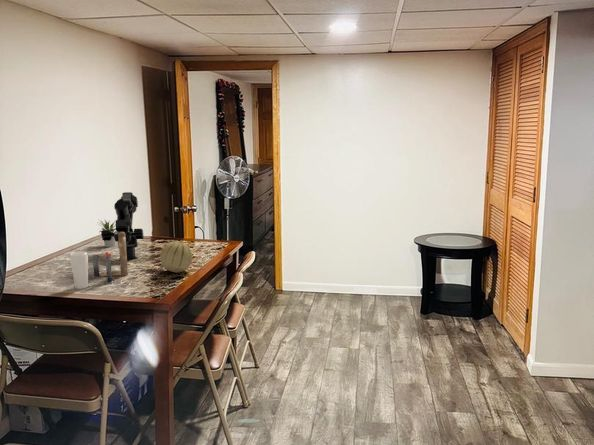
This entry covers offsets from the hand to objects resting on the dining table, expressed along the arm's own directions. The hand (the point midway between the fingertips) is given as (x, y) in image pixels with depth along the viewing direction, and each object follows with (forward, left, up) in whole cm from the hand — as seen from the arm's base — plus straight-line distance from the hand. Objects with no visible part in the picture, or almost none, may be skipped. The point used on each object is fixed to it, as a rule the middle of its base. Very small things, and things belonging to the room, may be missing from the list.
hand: (122, 249), depth 244 cm
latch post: (+14, +9, -10) cm, 20 cm away
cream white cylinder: (+26, +5, -11) cm, 28 cm away
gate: (+7, +2, -10) cm, 12 cm away
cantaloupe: (-13, +22, -11) cm, 28 cm away
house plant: (-27, -47, -11) cm, 56 cm away
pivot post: (+12, -3, -10) cm, 16 cm away
